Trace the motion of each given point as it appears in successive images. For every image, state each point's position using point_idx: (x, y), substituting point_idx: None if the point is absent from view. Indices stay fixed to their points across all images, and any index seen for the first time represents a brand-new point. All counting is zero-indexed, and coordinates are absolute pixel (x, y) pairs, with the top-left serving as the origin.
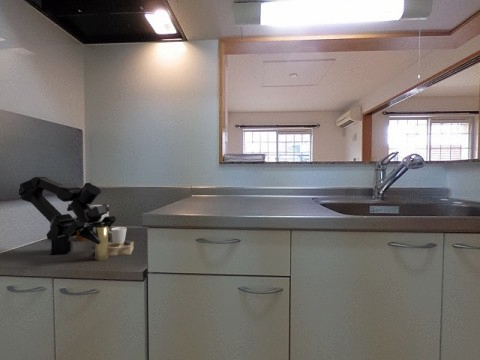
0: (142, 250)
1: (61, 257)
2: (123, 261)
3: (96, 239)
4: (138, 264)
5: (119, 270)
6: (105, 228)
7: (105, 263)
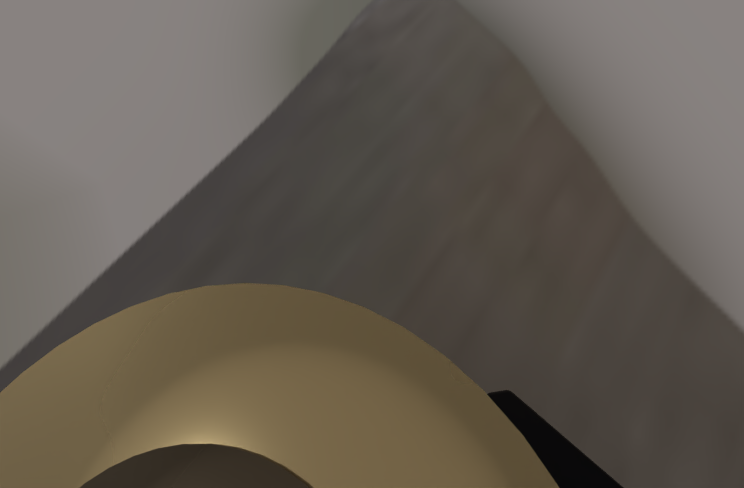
0: (30, 347)
1: None
2: (359, 206)
3: (575, 451)
4: (352, 71)
5: (515, 60)
6: (262, 297)
7: (489, 287)
